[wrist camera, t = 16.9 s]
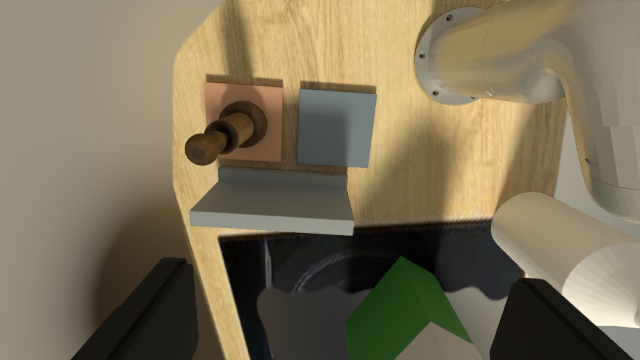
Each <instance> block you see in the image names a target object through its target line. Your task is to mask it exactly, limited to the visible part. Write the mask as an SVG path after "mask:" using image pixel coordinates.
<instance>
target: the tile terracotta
mask: <svg viewBox="0 0 640 360" xmlns="http://www.w3.org/2000/svg"><path fill="white" fill-rule="evenodd" d="M205 99H206V116H207V126H208V125H209V124H210V123H211V122H213V121H216V120H218V119H219V115H220V113H221V111H222V110H223V109H224V108H225V107H226V106H227V105H229V104H231V103H234V102H237V101H248V102H251V103H253V104H255V105H257V106H258V107H259V108H260V109H261V110H262V111H263V113H264V114H265V116H266V119H267V132H266V134H265V136H264V137H263V139H262V140H261V141H259V142H258V143H257V144H256V145H254V146H252V147H248V148H238V147H237V148H236V149H235V150H234V151H233V152H231V153H229V154H225V155H220V154H218V157H217V158H221V159H237V160H252V161H268V162H281V160H282V121H283V87H269V86H254V85H240V84H226V83H212V82H205Z"/></svg>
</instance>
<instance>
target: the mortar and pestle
mask: <svg viewBox="0 0 640 360" xmlns="http://www.w3.org/2000/svg"><path fill="white" fill-rule="evenodd" d="M266 132H267V119H266V116H265V114H264V113H263V111H262V110H261V109H260V108H259V107H258V106H257V105H255V104H253V103H251V102H248V101H237V102H234V103H231V104H229V105H227V106H226V107H225V108H224V109H223V110H222V111H221V113H220V115H219V119H218V120H216V121H213V122H211V123H210V124H209V125H208V126H207V127H206V129H205V132H204V134H195V135H193V136H191V137H190V138H189V139H188V140H187V142H186V144H185V154H186V156H187V158H188V159H189V160H190V161H191V162H192V163H194V164H196V165H200V166H205V165H209V164H211V163H213V162H214V161H215V160H216V159H217V157H218V154H220V155H225V154H229V153H231V152H233V151H234V150H235V149H236V148H237V147H238V148H248V147H252V146H254V145H256V144H257V143H258V142H259V141H261V140H262V139H263V137H264V136H265V134H266Z"/></svg>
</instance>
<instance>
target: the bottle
mask: <svg viewBox="0 0 640 360" xmlns="http://www.w3.org/2000/svg"><path fill="white" fill-rule="evenodd" d="M491 233H492V237H493V239H494V241H495V242H496V243H497V244H498V245H499V246H500V247H501V248H502V249H503V250H504V251H505V252H506V253H507V254H508V255H509V256H510V257H511V258H512V259H513V260H514V261H515V262H516V263H517V264H518V265H519V266H520V267H521V268H522V269H523V270H524V271H525V272H526V273H527V274H528V275H529V276H530V277H531V278H539V279H544V280H546V281H547V282H548V283H549V284H551V285H552V286H553V287H554V288H555V289H556V290H557V291H558V292H559V293H561V294H562V295H563V296H564V297H565V298H566V299H567V300H568V301H569V302H570V303H572V304H573V305H574V306H575V307H576V308H577V309H578V310H579V311H580V312H582V313H583V314H584V315H585V316H586V317H587V318H588V319H589V320H590V321H592V322H593V323H594V324H595V325H596V326H597V325H598V326H624V327H634V328H640V241H639V240H637V239H635V238H633V237H631V236H629V235H627V234H625V233H623V232H620V231H619V230H617V229H614V228H613V227H611V226H608V225H606V224H604V223H602V222H600V221H598V220H596V219H594V218H592V217H590V216H588V215H586V214H584V213H582V212H580V211H578V210H576V209H574V208H572V207H570V206H568V205H566V204H564V203H562V202H560V201H558V200H556V199H554V198H552V197H550V196H548V195H546V194H543V193H540V192H525V193H521V194H518V195H516V196H514V197H511V198H510V199H508V200H507V201H506V202H504V203H503V204H502V205H501V206H500V207H499V209H498V210H497V211H496V213H495V215H494V217H493V219H492V223H491Z"/></svg>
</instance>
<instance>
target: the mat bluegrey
mask: <svg viewBox="0 0 640 360" xmlns="http://www.w3.org/2000/svg"><path fill="white" fill-rule="evenodd" d="M376 99H377V94H368V93H354V92H340V91H326V90H311V89H300V104H299V127H298V150H297V163H299V164H314V165H330V166H345V167H360V168H368V163H369V155H370V147H371V139H372V131H373V123H374V115H375V107H376Z"/></svg>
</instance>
